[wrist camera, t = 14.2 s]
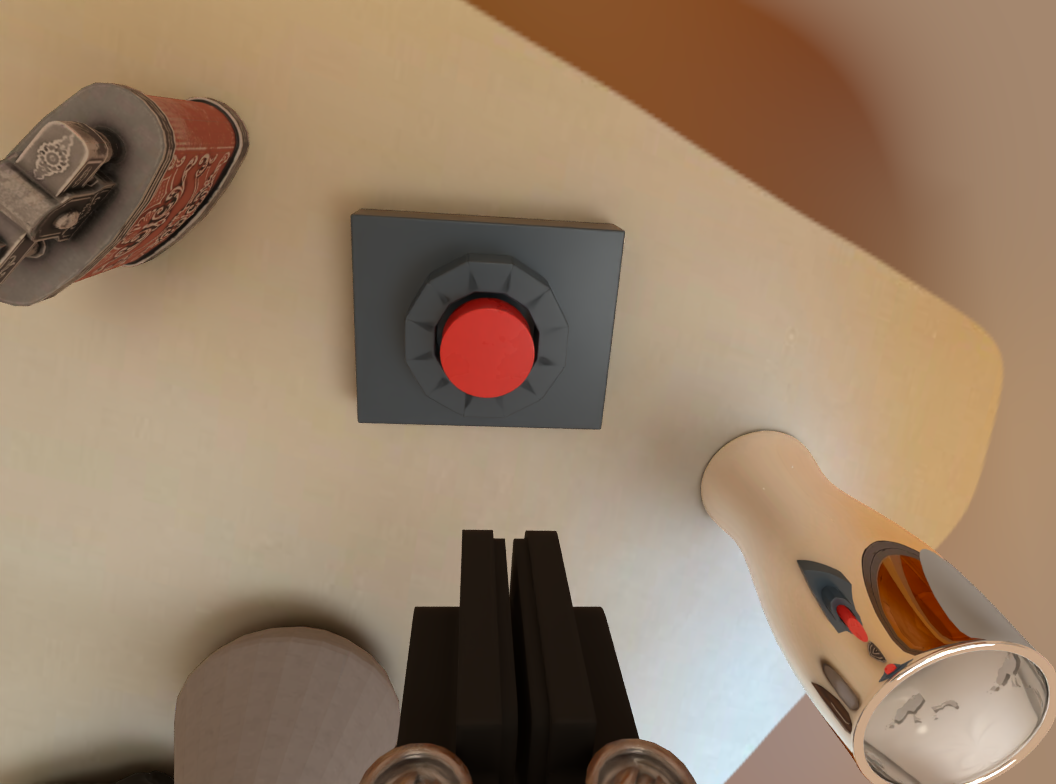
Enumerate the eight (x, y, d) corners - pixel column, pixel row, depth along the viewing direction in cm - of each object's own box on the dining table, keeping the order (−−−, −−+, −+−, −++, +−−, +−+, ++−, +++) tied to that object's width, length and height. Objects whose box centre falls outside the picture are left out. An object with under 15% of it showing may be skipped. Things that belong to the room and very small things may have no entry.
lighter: (198, 76, 24) (29, 37, 15) (269, 145, 25) (152, 148, 16) (75, 222, 26) (-147, 267, 17) (146, 281, 27) (-24, 355, 18)
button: (534, 299, 25) (538, 310, 23) (527, 383, 26) (531, 399, 25) (442, 295, 25) (440, 305, 23) (441, 380, 26) (439, 396, 24)
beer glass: (845, 476, 34) (1107, 712, 20) (745, 558, 35) (922, 832, 21) (768, 395, 31) (1000, 597, 18) (664, 486, 33) (803, 739, 19)
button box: (614, 223, 28) (636, 237, 24) (593, 411, 31) (609, 447, 27) (359, 208, 27) (341, 219, 23) (365, 403, 30) (349, 441, 26)
